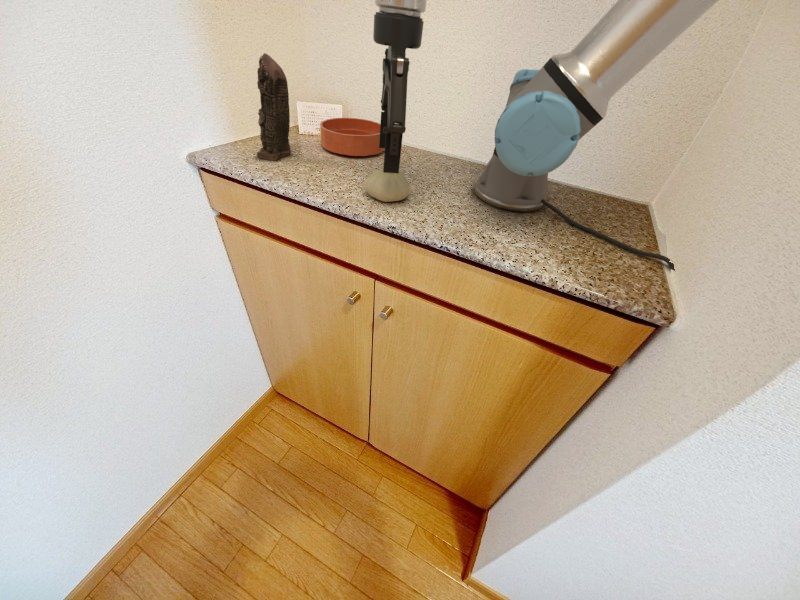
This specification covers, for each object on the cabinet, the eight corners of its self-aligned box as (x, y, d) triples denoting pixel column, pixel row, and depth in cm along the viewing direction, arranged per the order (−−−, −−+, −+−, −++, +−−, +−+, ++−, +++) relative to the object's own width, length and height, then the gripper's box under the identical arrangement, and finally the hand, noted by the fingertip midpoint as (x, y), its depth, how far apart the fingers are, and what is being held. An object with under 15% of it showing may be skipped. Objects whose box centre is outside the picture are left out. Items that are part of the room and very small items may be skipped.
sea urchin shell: (411, 178, 70) (413, 160, 62) (407, 214, 69) (407, 200, 61) (370, 173, 70) (366, 154, 62) (365, 208, 69) (360, 194, 61)
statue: (269, 149, 81) (252, 49, 67) (296, 153, 80) (285, 54, 67) (256, 158, 75) (235, 51, 62) (285, 162, 75) (270, 56, 62)
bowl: (397, 151, 89) (399, 129, 86) (353, 163, 79) (353, 139, 75) (353, 135, 97) (353, 115, 93) (307, 145, 86) (305, 122, 82)
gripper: (371, 9, 57) (366, 138, 71) (379, 9, 38) (371, 183, 52) (413, 14, 58) (400, 140, 72) (439, 18, 39) (416, 186, 53)
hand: (388, 159), depth 62 cm, fingers open, 13 cm apart
